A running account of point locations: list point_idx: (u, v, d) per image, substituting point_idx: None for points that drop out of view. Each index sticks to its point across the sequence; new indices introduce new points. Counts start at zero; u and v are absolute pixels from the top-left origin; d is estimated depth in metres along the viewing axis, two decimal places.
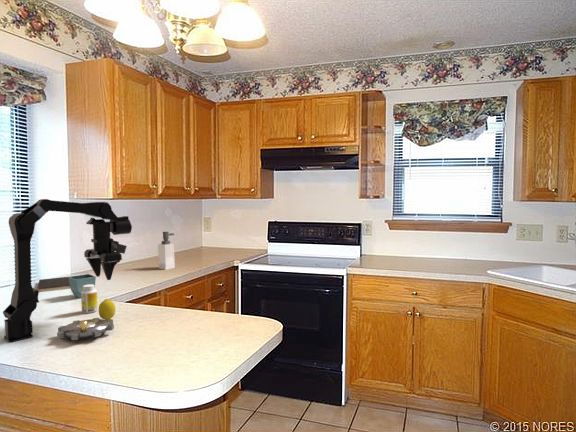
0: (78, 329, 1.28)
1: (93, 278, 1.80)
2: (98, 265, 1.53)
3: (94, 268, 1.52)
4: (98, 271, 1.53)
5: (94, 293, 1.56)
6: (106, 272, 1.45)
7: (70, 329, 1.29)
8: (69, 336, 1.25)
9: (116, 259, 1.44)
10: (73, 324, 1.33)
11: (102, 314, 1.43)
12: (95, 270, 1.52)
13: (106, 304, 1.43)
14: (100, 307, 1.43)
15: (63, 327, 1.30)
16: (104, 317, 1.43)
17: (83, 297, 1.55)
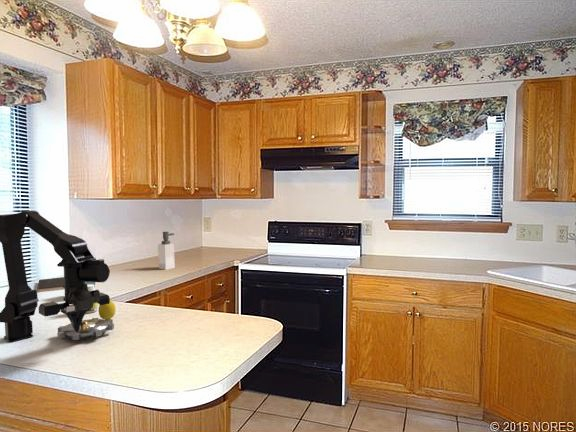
0: None
1: None
2: (77, 317, 1.24)
3: None
4: None
5: None
6: (70, 321, 1.24)
7: (70, 329, 1.28)
8: (70, 336, 1.25)
9: (42, 313, 1.16)
10: None
11: (102, 314, 1.43)
12: None
13: (106, 304, 1.43)
14: (100, 307, 1.43)
15: (63, 327, 1.30)
16: (104, 317, 1.43)
17: None
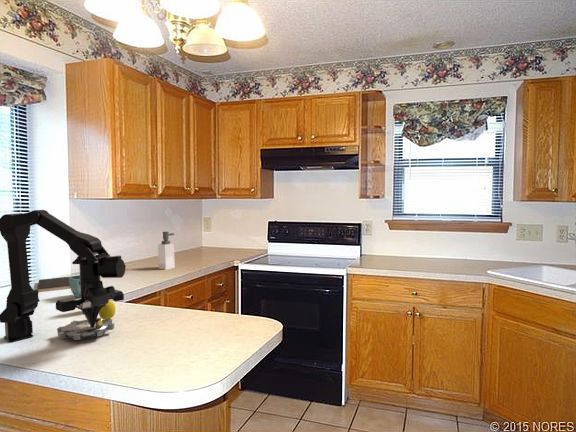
0: (88, 328, 1.29)
1: None
2: (93, 313, 1.27)
3: None
4: None
5: None
6: (86, 317, 1.27)
7: (78, 330, 1.27)
8: (89, 335, 1.26)
9: (60, 309, 1.19)
10: (67, 329, 1.29)
11: (103, 314, 1.43)
12: None
13: (106, 304, 1.43)
14: None
15: (65, 332, 1.26)
16: (104, 317, 1.43)
17: None
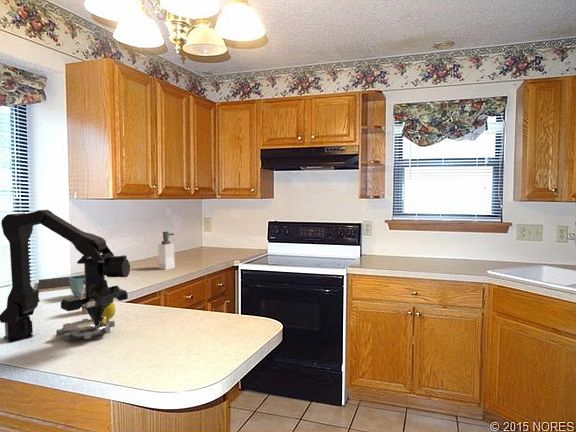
0: (92, 327, 1.30)
1: None
2: (97, 312, 1.29)
3: None
4: None
5: None
6: (90, 316, 1.29)
7: (84, 330, 1.27)
8: (98, 333, 1.27)
9: (65, 308, 1.21)
10: (69, 330, 1.27)
11: (103, 314, 1.43)
12: None
13: None
14: None
15: (71, 333, 1.25)
16: None
17: (83, 297, 1.55)
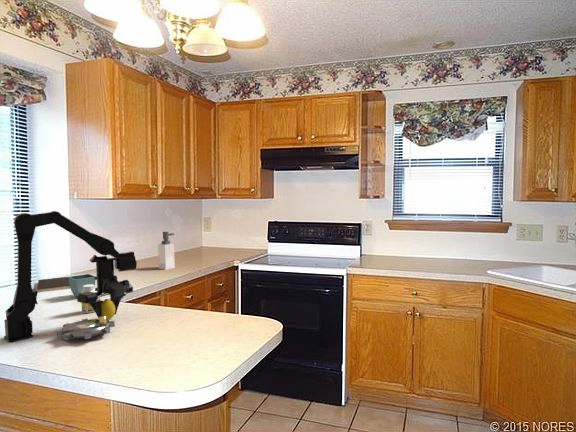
0: (92, 327, 1.30)
1: (93, 278, 1.80)
2: (115, 302, 1.48)
3: None
4: None
5: None
6: (94, 310, 1.43)
7: (84, 330, 1.27)
8: (98, 332, 1.28)
9: (83, 301, 1.37)
10: (69, 330, 1.27)
11: (103, 314, 1.43)
12: None
13: (106, 304, 1.43)
14: None
15: (71, 333, 1.25)
16: None
17: None
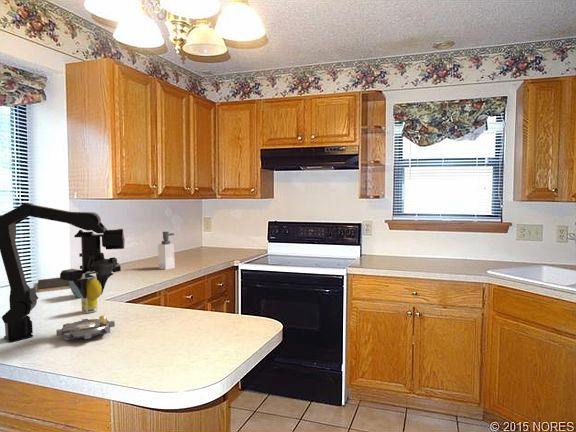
0: (92, 327, 1.30)
1: None
2: (101, 282, 1.38)
3: None
4: None
5: None
6: (78, 289, 1.33)
7: (84, 330, 1.27)
8: (98, 332, 1.28)
9: (66, 278, 1.27)
10: (69, 330, 1.27)
11: (88, 294, 1.33)
12: None
13: (92, 283, 1.34)
14: None
15: (71, 333, 1.25)
16: (89, 297, 1.34)
17: None
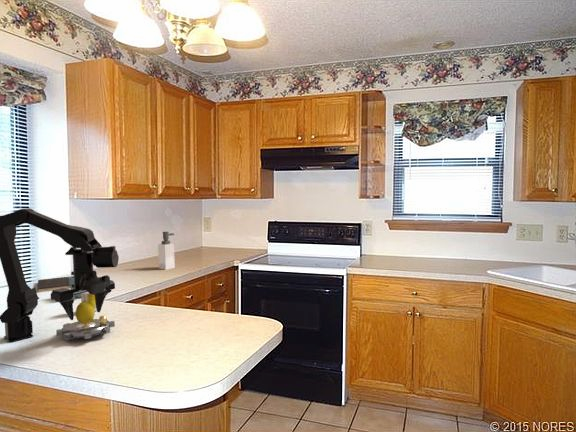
0: (92, 327, 1.30)
1: None
2: (99, 299, 1.35)
3: (96, 302, 1.36)
4: (98, 306, 1.35)
5: None
6: (65, 310, 1.27)
7: (84, 330, 1.27)
8: (98, 332, 1.28)
9: (56, 299, 1.22)
10: (69, 330, 1.27)
11: (80, 318, 1.29)
12: (96, 304, 1.35)
13: (84, 306, 1.29)
14: (77, 310, 1.29)
15: (71, 333, 1.25)
16: (82, 321, 1.29)
17: (83, 297, 1.55)
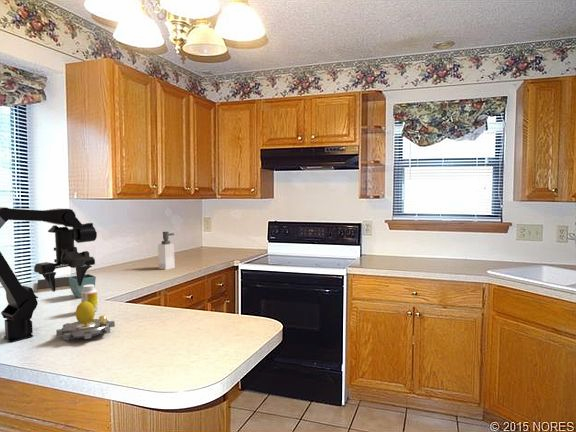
0: (92, 327, 1.30)
1: (93, 278, 1.80)
2: (80, 274, 1.46)
3: (77, 276, 1.47)
4: (79, 280, 1.46)
5: (94, 293, 1.56)
6: None
7: (84, 330, 1.27)
8: (98, 332, 1.28)
9: (39, 271, 1.34)
10: (69, 330, 1.27)
11: (80, 318, 1.29)
12: (77, 278, 1.47)
13: (84, 307, 1.29)
14: (77, 310, 1.29)
15: (71, 333, 1.25)
16: (82, 321, 1.29)
17: (83, 297, 1.55)
